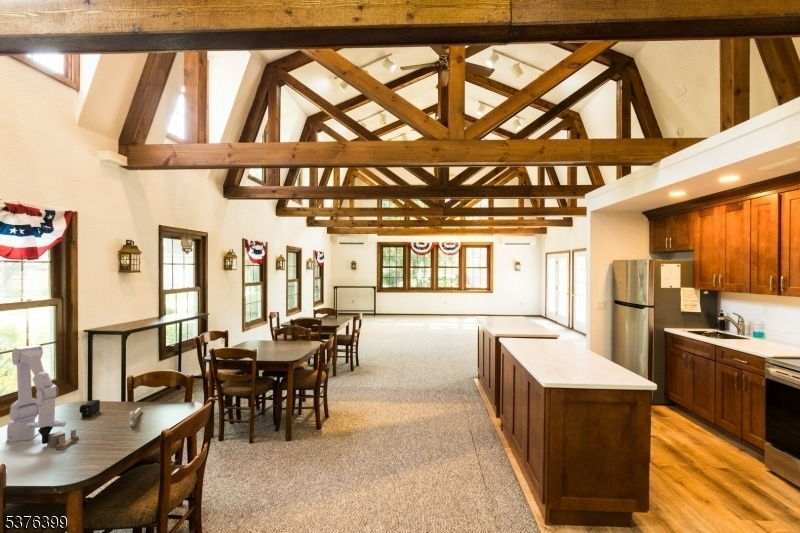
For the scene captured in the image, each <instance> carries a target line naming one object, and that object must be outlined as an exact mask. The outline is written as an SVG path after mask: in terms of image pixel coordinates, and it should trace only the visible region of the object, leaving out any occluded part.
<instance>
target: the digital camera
mask: <svg viewBox="0 0 800 533" xmlns="http://www.w3.org/2000/svg"><path fill="white" fill-rule="evenodd" d="M100 401H101V400H100V399H91V400H89V401H88V402H86V403H84V404H83V403H82V404H80V407H79V413H80V414H81V419H90V418H89V417H91V418H93V417H94V416H95V415H96V413H97V412H98V413H100V412H99V411H101V410H100V409H101V408H100V407H101V403H100ZM98 413H97V414H98ZM93 415H94V416H93Z"/></svg>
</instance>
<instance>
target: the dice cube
mask: <svg viewBox="0 0 800 533" xmlns="http://www.w3.org/2000/svg"><path fill="white" fill-rule="evenodd" d="M62 436H65V437H66V432H64V431H62V430H59V431H55V432H50V433H49V434H48V435H47V437H48V443H47V444H46V445H47V446H48V447H49V448H52V449H53V448H56V447H57V446H58V445H59V438H60V437H62Z"/></svg>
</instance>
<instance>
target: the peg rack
mask: <svg viewBox="0 0 800 533" xmlns="http://www.w3.org/2000/svg"><path fill="white" fill-rule="evenodd" d="M79 439H80V437H79V435H77V428H74V429H73V428H72V429H70V437H68V438H67V439H66V435H65V436H62V437H60V438H59V445H58V446H56V447H55V448H56V451H61V450H65V449H67V448H68V447H70V446H71V445H72V444H74V443H75V442H77V441H78V440H79Z"/></svg>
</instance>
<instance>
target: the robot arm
mask: <svg viewBox="0 0 800 533" xmlns="http://www.w3.org/2000/svg"><path fill="white" fill-rule="evenodd" d="M43 351H44V350H43V347H42V345H40V344H36V345H28V346H27V345H26V346H20V347H18V346H16V347H14V349H13V350H12V353H11V361H12V365H15V366H16V374H17V375H16V377H17V378H16V379H17V395H18V396H17V398H18V399H17V400H15V401H14V402H13V403H12V404H11V405H10V409H9V417H10V421H9V422H8V425H7V428H6V429H7V430H6V436H7V437H6V441H5V442H6V443H8V442H9V443H10V442H20V441H21V442H22V441H29V440H31V439H33V438H35V437H37V436H38V435H41V436H40V437H41V444H42V445H44V444H46V445H47V443H48V437H47V435H48V434H51V433H52V430H53V428H54V427H55V428H57V427H58V428H59V427H60V428H63V427H65V426H66V425H67V424H66V423H67V422H66V420H64V421H63V420H56V419H55V414H56V398H57V397H58V395H59V388H58V386H57V385H55V383H54V382H52V380H51V377H50V375H49V373H47V372H45V370H44V366H43V363H42V360H41V359H42V357H43V354H44V352H43ZM32 374H33V375H34V376H33V377H32ZM32 381H33V384H34V387H35V389H36V394H35V396H36V397H35V398H34V397H33V392H32ZM36 419H38V421H37V422H36ZM36 428H38V432H36Z"/></svg>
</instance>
